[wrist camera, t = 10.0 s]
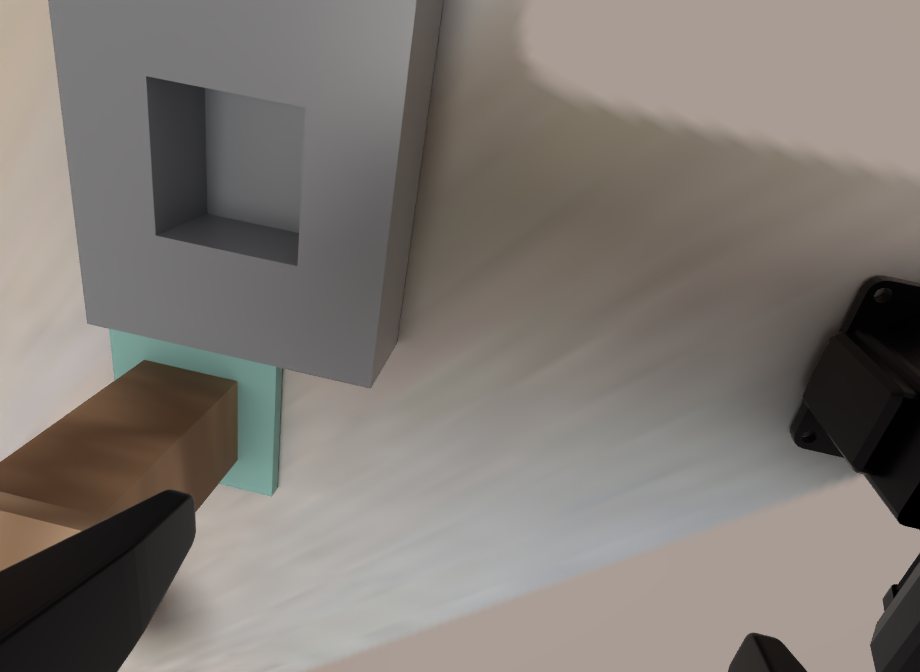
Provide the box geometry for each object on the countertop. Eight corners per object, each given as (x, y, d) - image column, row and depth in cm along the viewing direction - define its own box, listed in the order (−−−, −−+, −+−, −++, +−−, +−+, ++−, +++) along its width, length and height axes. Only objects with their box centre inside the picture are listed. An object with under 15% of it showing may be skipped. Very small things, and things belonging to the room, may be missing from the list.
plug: (240, 379, 24) (85, 531, 16) (239, 462, 26) (101, 635, 18) (141, 356, 24) (-57, 496, 16) (148, 440, 26) (-27, 601, 18)
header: (445, -15, 17) (420, -33, 14) (396, 343, 23) (370, 388, 20) (126, -73, 18) (35, -102, 15) (150, 288, 23) (87, 323, 20)
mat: (282, 352, 24) (276, 358, 23) (277, 487, 27) (271, 496, 26) (118, 314, 24) (108, 320, 24) (131, 452, 27) (122, 460, 27)
